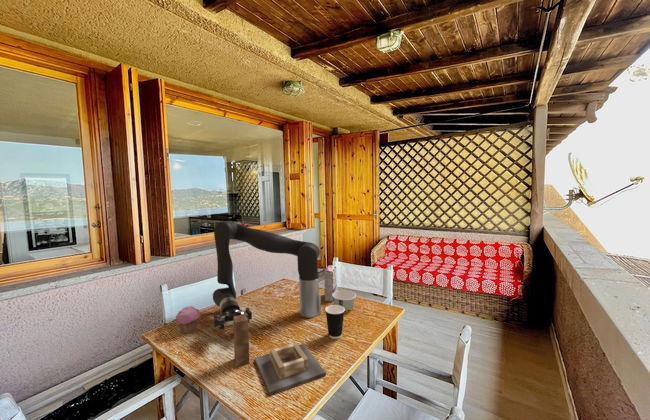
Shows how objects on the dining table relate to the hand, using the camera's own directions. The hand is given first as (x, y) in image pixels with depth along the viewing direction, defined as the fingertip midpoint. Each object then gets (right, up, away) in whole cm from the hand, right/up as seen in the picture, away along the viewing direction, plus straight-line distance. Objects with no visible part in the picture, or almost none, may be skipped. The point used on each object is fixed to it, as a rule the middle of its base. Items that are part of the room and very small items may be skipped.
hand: (235, 324), depth 101 cm
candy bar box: (+37, -5, +45) cm, 58 cm away
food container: (+43, -5, +33) cm, 54 cm away
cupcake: (-23, -7, +11) cm, 27 cm away
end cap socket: (+22, -8, -13) cm, 27 cm away
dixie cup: (+38, -7, +6) cm, 39 cm away
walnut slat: (+5, -8, -9) cm, 14 cm away
